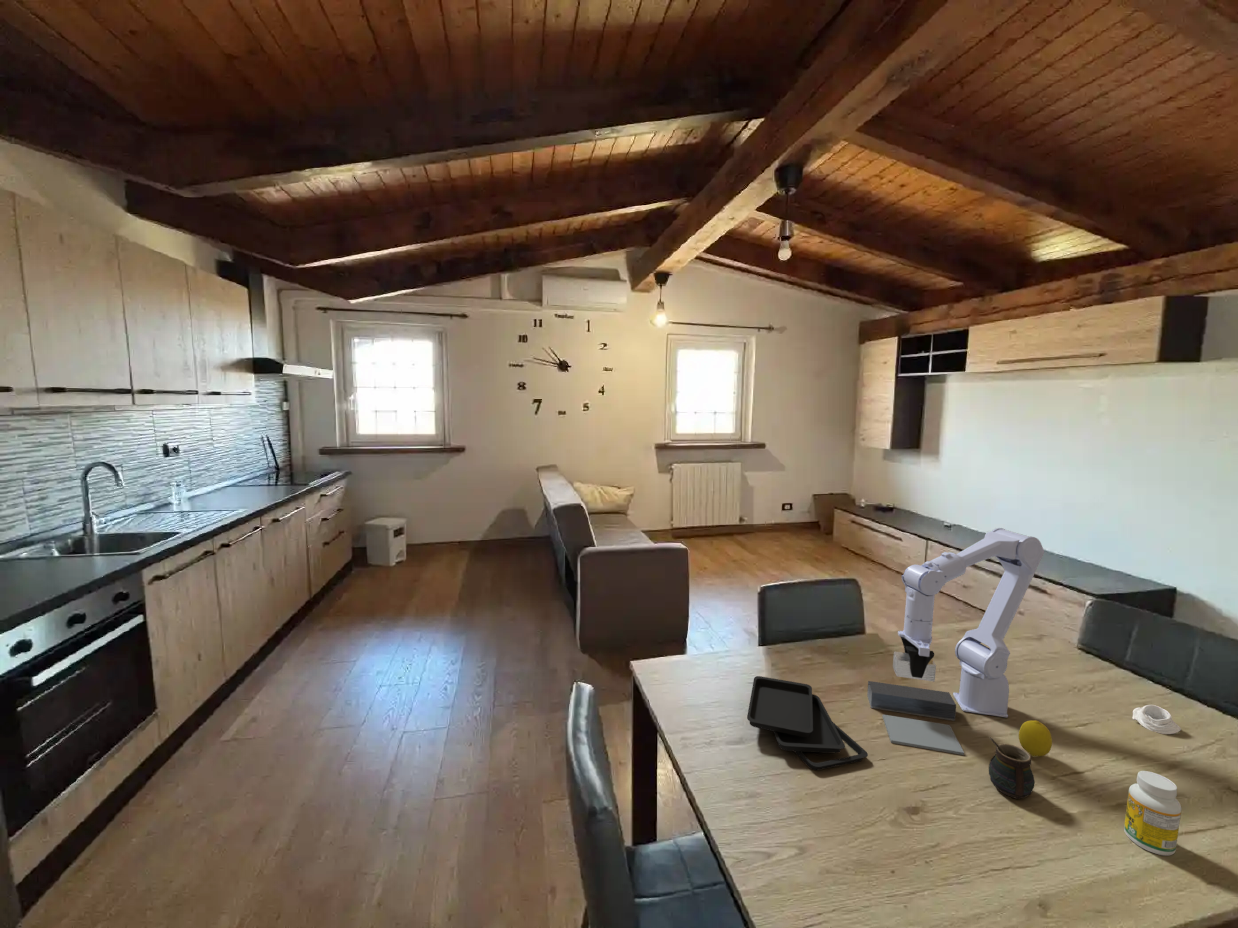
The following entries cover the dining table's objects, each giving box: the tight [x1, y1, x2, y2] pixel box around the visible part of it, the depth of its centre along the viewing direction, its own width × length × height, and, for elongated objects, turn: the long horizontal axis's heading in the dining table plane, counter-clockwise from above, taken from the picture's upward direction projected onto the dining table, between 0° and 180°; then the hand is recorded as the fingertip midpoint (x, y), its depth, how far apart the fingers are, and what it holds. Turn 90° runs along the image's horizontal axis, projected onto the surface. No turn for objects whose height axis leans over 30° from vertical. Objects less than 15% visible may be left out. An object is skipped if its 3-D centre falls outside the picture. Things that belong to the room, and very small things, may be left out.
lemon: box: [1018, 719, 1053, 758], centre depth 112 cm, size 6×6×8 cm
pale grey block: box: [892, 651, 937, 682], centre depth 126 cm, size 8×5×5 cm, turn 73°
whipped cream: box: [1132, 704, 1182, 735], centre depth 123 cm, size 8×7×5 cm
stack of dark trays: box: [746, 675, 869, 771], centre depth 120 cm, size 30×23×5 cm
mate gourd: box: [988, 736, 1036, 800], centre depth 102 cm, size 7×8×10 cm
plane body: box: [866, 680, 957, 722], centre depth 130 cm, size 18×6×4 cm, turn 73°
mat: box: [882, 714, 965, 756], centre depth 119 cm, size 14×10×1 cm
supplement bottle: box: [1123, 770, 1182, 856], centre depth 90 cm, size 6×6×11 cm
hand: (914, 671), depth 127 cm, fingers closed on pale grey block, 5 cm apart
